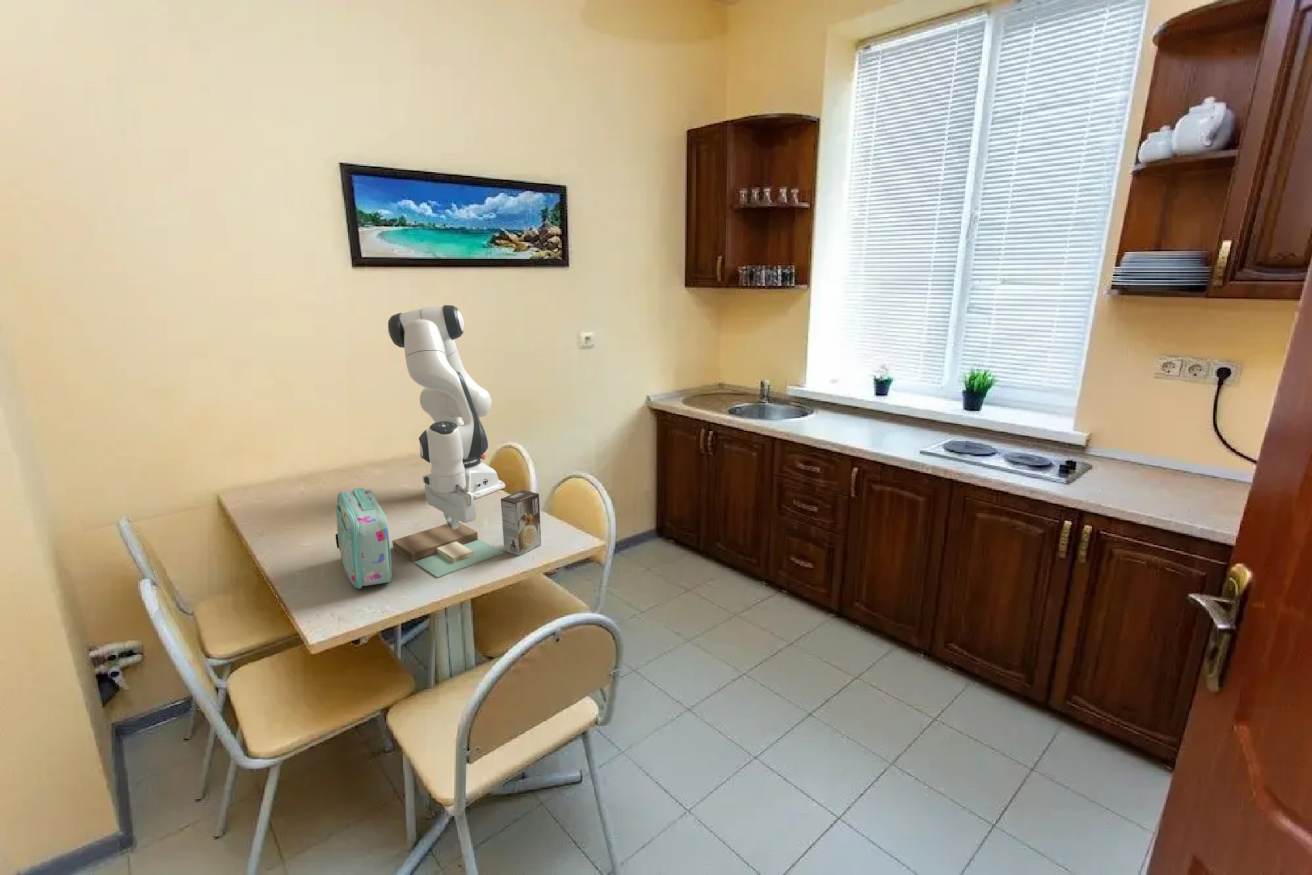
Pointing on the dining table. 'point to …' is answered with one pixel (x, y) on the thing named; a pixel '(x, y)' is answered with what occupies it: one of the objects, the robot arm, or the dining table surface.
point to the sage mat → (443, 566)
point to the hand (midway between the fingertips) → (452, 527)
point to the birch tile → (455, 552)
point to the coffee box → (521, 522)
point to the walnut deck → (432, 541)
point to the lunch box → (363, 538)
